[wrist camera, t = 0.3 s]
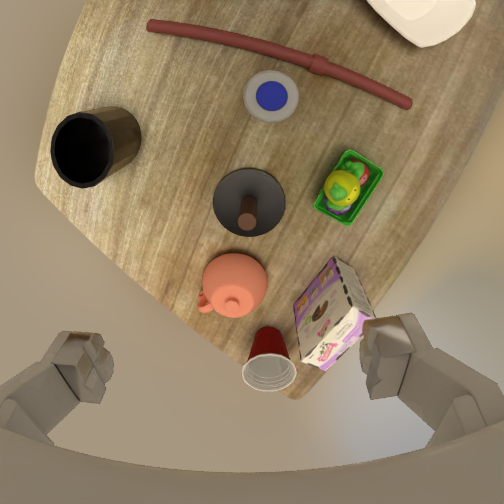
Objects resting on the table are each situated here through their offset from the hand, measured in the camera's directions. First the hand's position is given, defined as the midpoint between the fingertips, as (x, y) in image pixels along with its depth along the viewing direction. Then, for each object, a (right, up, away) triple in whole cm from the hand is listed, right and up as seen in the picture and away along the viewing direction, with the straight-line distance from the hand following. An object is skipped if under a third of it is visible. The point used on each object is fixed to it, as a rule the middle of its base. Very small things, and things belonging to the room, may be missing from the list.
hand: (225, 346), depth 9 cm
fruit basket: (+16, +15, +45) cm, 50 cm away
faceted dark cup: (-24, +23, +42) cm, 53 cm away
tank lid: (0, +11, +46) cm, 48 cm away
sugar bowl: (-3, -2, +54) cm, 55 cm away
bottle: (+3, +28, +38) cm, 48 cm away
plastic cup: (+4, -16, +61) cm, 63 cm away
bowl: (+27, +48, +27) cm, 62 cm away
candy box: (+15, -4, +55) cm, 57 cm away
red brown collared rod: (+6, +34, +35) cm, 49 cm away
